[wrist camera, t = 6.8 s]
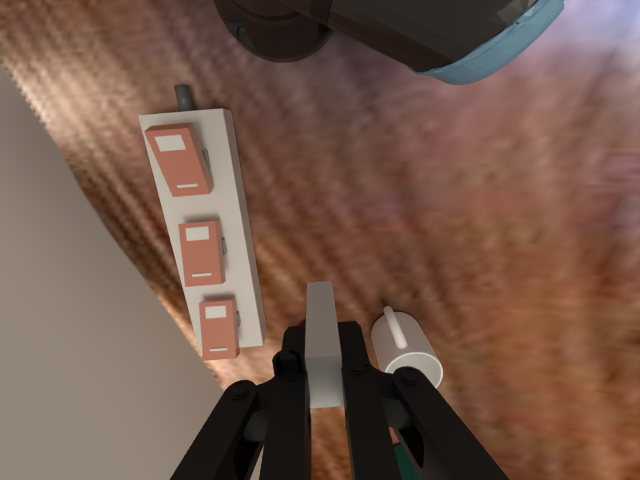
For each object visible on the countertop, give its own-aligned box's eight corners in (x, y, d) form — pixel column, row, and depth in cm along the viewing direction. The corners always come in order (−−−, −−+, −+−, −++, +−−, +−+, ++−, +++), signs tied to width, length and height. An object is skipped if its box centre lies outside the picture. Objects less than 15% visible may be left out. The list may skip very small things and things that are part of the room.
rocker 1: (150, 125, 33) (143, 132, 31) (192, 122, 33) (187, 128, 31) (177, 189, 38) (172, 197, 36) (213, 186, 38) (210, 194, 36)
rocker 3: (203, 300, 43) (198, 303, 41) (235, 297, 43) (231, 300, 41) (208, 355, 43) (202, 361, 41) (239, 353, 43) (236, 358, 41)
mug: (357, 300, 49) (368, 341, 39) (406, 284, 48) (429, 322, 39) (377, 356, 53) (392, 406, 43) (423, 342, 52) (448, 389, 42)
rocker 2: (184, 223, 39) (177, 223, 37) (219, 220, 39) (214, 220, 37) (191, 284, 40) (184, 287, 38) (225, 281, 40) (221, 284, 38)
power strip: (147, 91, 38) (123, 85, 33) (227, 85, 38) (214, 78, 33) (206, 334, 50) (195, 356, 46) (266, 329, 50) (262, 350, 45)
